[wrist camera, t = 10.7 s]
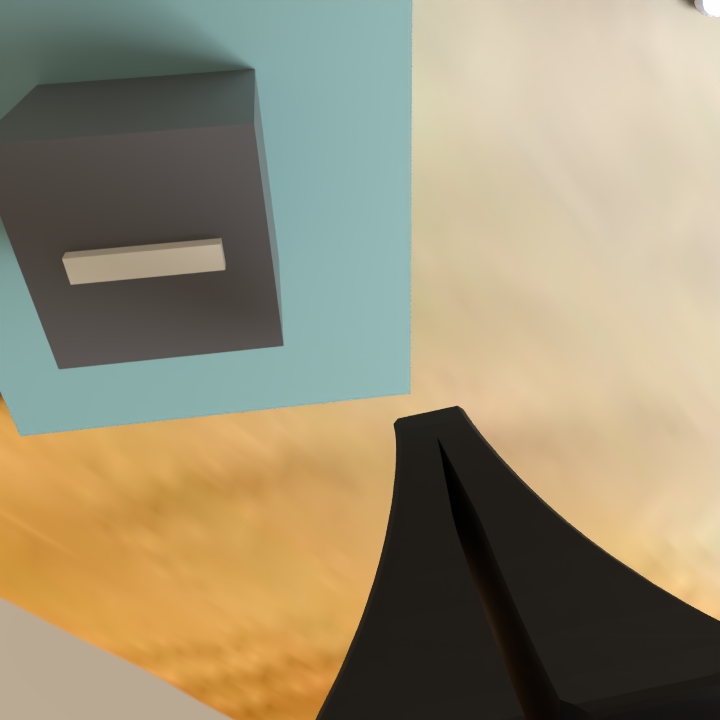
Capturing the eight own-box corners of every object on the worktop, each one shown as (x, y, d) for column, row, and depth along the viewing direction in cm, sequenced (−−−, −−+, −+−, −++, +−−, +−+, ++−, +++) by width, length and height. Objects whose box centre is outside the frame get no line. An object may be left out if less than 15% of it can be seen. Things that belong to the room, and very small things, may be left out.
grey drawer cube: (254, 68, 17) (254, 127, 13) (279, 258, 20) (284, 353, 16) (37, 84, 16) (-33, 150, 12) (96, 276, 19) (55, 377, 15)
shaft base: (400, -211, 15) (445, -238, 11) (402, 368, 24) (428, 454, 21) (-219, -185, 14) (-385, -206, 10) (32, 407, 23) (-9, 504, 20)
